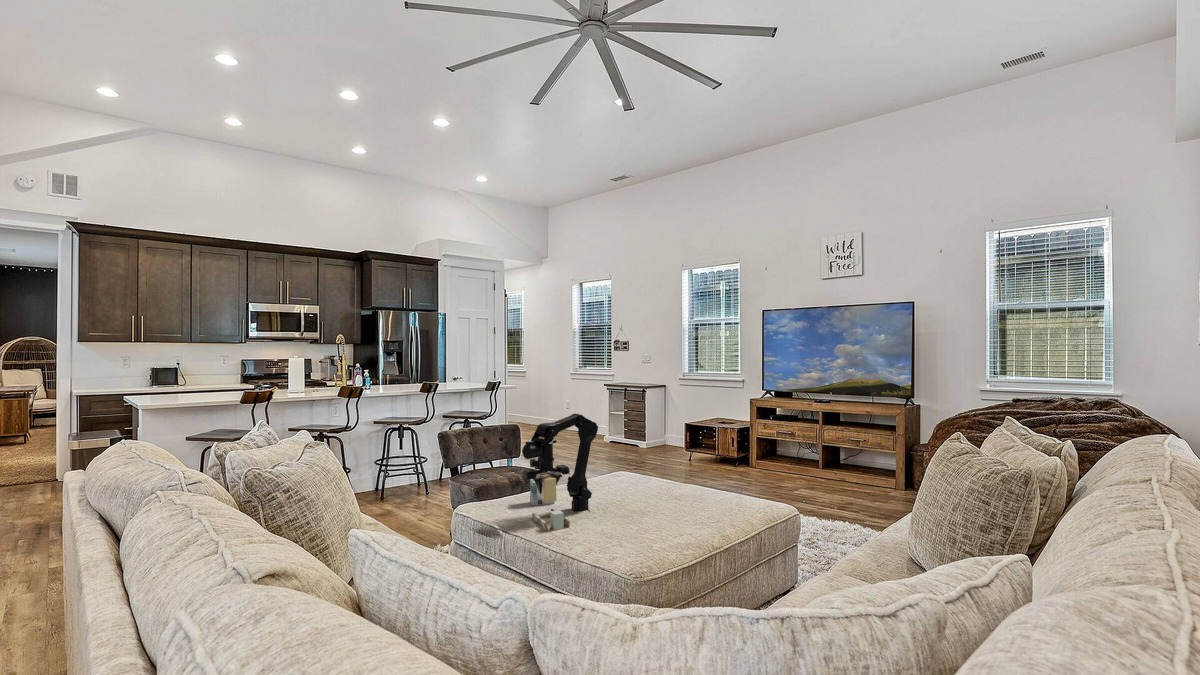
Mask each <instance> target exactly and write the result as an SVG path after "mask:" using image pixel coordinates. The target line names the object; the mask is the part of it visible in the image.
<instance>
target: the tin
mask: <svg viewBox="0 0 1200 675" xmlns="http://www.w3.org/2000/svg"><path fill="white" fill-rule="evenodd" d="M549 513H550V514H549V515H550V527H551V528H552V529H554V530H553V531H558V530H564V529H565V528H564V517H565V516H564V515H565V513H564V512H563V511H562V510H561V509H557V510H555V511H551V510H550V511H549ZM563 528H564V529H563Z"/></svg>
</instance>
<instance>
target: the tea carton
mask: <svg viewBox="0 0 1200 675" xmlns="http://www.w3.org/2000/svg"><path fill="white" fill-rule="evenodd" d="M540 478H541V479H542V492H541V494H540V493H539V491H538V488H537V498H539V499H540V500H542V501H543V502H551V501H555V502H556V501H557V485H556V478H554V477H552V476H551V474H544V475H540Z"/></svg>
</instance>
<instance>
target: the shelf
mask: <svg viewBox="0 0 1200 675" xmlns="http://www.w3.org/2000/svg"><path fill="white" fill-rule="evenodd" d="M550 511H556V510H555V509H554V508H551V509H550ZM531 519H533V520H534V521H535V522H536V523H538V524H539V525H540V526H541V527H543V529H544V530H546V531H547V532H551V531H555V530H554V529H552V528H551V527H550V514H549V515H548V514H547V515H543V516H539V515H537V514H536V513H535V512H532V514H531ZM569 528H571V527H570V520H569V519H567V518H566V517H565V516H564V528H563V529H562V530H564V529H569Z"/></svg>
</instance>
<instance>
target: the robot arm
mask: <svg viewBox="0 0 1200 675" xmlns="http://www.w3.org/2000/svg"><path fill="white" fill-rule="evenodd" d="M571 427H574V428H577V434H578V438H579V445H578V450H577V456H576V461H575V465H574V466H575V467H574V470H573V471H574V472H573V474H572V475H571V476H568V477H567V483H566V490H567V492H568V495H569V497H571V499H572V501H571V511H573V512H586V511H587V512H589V513H590V512H591V510H589V499H591V498H592V494H593V492H591V490H589V488H588V480H587V476H586V473H587V467H588V462H589V457H590V451H591V445H592V442H593V441H594V440H595V439H596V437H597V433H598V430H599V425H598V424H597V423H596V422H595V421H592V420H591V419H589V418H587V417H585V416H584V415H582V414H581V413H572V414H571V415H568V416H566V417H564V418H561V419H558V420H555V421H554V422H545V423H539V424H538V425H537V427H536V430H535V431H534V434H533V435H532V437H531V440H530V441H525V444H524V445H523V447H522V450H521V452H522V456H523V457H524V459H526V460H529V467H530V469H529V468H528V469H524V470H523V471H522V478H524V479H525V480H529V481H530V479H533V480H534V481H535V483H536V485H537V488H538V491H539V493H540V494H541V492H542V479H541V478H540V475H545V474H549V475H550V476H552V477H554V478H556V486H557V485H558V484H559V481H560V479H561V478H563V476H565V475H569V474H570V468H569V467H568V466H567V465H565V464H560V465H555V467H554V461H555V457H554V444H555V443H557V442H558V441H557V440H556V439H555V437H557V435H558V434H559V433H560V432H562V431H564V430H567V429H569V428H571ZM535 458H537V460H536V459H535ZM532 468H534V469H532Z"/></svg>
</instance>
